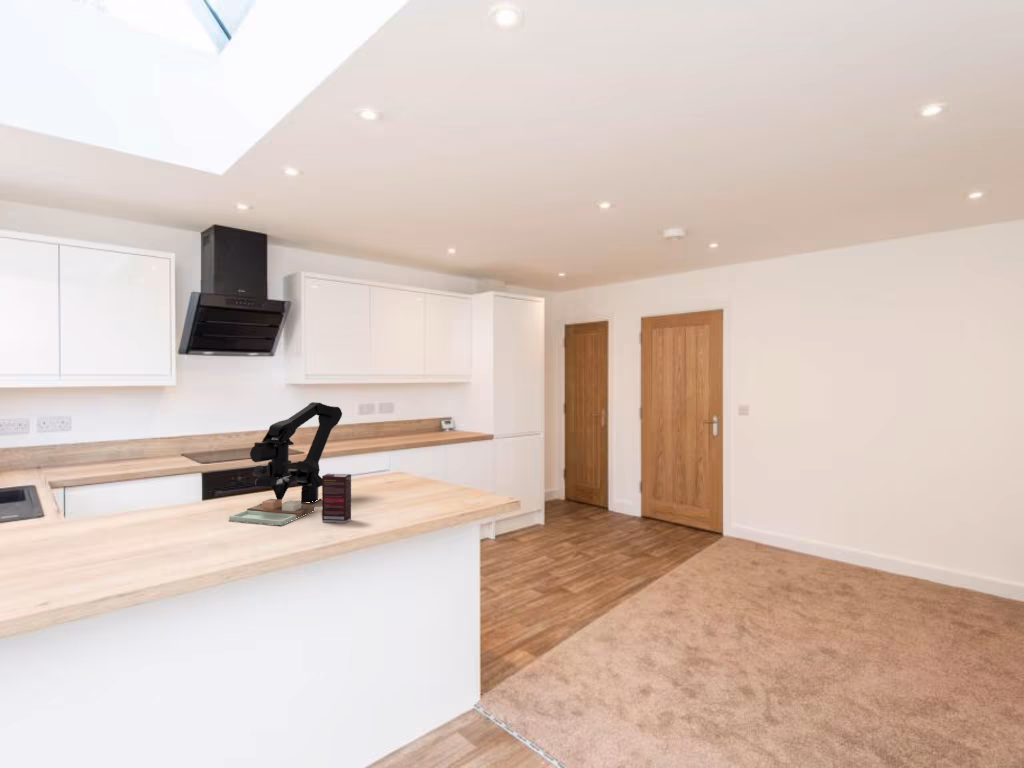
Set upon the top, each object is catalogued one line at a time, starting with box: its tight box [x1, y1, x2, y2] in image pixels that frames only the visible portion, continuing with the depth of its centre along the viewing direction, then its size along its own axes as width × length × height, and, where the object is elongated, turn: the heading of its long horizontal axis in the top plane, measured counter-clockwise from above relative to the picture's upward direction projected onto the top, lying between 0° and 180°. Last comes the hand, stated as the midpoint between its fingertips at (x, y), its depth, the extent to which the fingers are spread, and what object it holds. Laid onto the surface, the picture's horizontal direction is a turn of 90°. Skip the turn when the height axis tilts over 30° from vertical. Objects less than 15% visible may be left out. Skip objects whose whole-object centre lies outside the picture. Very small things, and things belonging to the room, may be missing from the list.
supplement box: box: [321, 473, 352, 524], centre depth 176 cm, size 9×5×16 cm, turn 84°
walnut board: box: [246, 503, 315, 519], centre depth 185 cm, size 10×20×2 cm, turn 77°
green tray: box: [228, 509, 297, 526], centre depth 176 cm, size 8×20×2 cm, turn 77°
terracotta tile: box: [261, 498, 283, 510], centre depth 184 cm, size 4×4×2 cm
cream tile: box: [282, 499, 302, 511], centre depth 183 cm, size 4×4×2 cm
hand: (279, 500), depth 188 cm, fingers closed
